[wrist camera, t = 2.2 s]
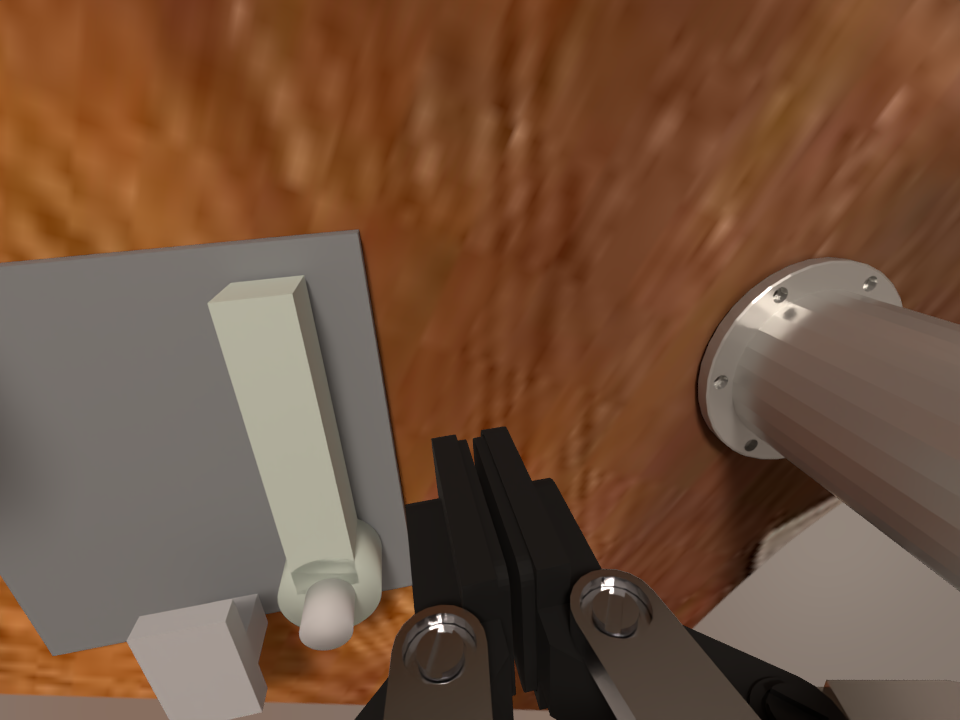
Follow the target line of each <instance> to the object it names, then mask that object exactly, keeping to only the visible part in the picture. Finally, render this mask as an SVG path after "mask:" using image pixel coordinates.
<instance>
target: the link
mask: <svg viewBox="0 0 960 720" xmlns="http://www.w3.org/2000/svg"><path fill="white" fill-rule="evenodd" d="M207 304H208V307H209V311H210V314H211V317H212V320H213V323H214V327H215V330H216V333H217V336H218V340H219V343H220V346H221V349H222V353H223V356H224V359H225V362H226V365H227V369H228V372H229V375H230V378H231V382H232V385H233V388H234V391H235V395H236V398H237V401H238V404H239V407H240V411H241V414H242V417H243V420H244V424H245V427H246V430H247V433H248V437H249V440H250V443H251V446H252V450H253V453H254V456H255V459H256V462H257V466H258V469H259V472H260V475H261V479H262V482H263V485H264V488H265V492H266V495H267V498H268V501H269V504H270V508H271V511H272V514H273V517H274V521H275V524H276V527H277V530H278V534H279V537H280V540H281V543H282V546H283V550H284V553H285V556H286V561H285V566H284V570H283V574H282V578H281V582H280V587H279V591H278V605H279V608H280V610H281V612H282V613H283V615H284V616H285V617H286V618H287V619H288V620H289V621H290V622H292V623H293V624H295V625H297V626H299V627H300V631H299V637H300V640H301V641H302V642H303V644H305V645H306V646H308V647H309V648H312V649H316V650H331V649H335V648H338V647H340V646H342V645H344V644H345V643H346V642H347V641H348V640H349V639H350V638H351V636H352V634H353V626H354V625H357V624H359V623H360V622H362V621H364V620H365V619H366V618H368V617H369V616H370V615H371V614H372V613H373V612H374V611H375V609H376V608H377V606H378V604H379V602H380V599H381V593H382V544H381V540H380V537H379V535H378V534H377V532H376V531H375V530H374V529H373V528H372V527H371V526H370V525H369V524H367V523H365V522H364V521H362V520H359V519H357V515H356V510H355V506H354V501H353V497H352V492H351V487H350V483H349V478H348V474H347V469H346V465H345V460H344V455H343V451H342V446H341V442H340V437H339V432H338V428H337V423H336V419H335V414H334V410H333V405H332V400H331V396H330V391H329V387H328V382H327V378H326V373H325V368H324V364H323V359H322V355H321V350H320V345H319V341H318V336H317V332H316V327H315V323H314V318H313V313H312V309H311V304H310V300H309V295H308V291H307V286H306V281H305V277H304V275H301V276H291V277H282V278H272V279H263V280H253V281H244V282H234V283H230V284H229V285H228V286H226V287H225V288H224V289H223V290H222V291H221V292H220V293H218V294H217V295H216V296H215V297H214V298H213V299H212V300H210V301H209V302H208V303H207Z"/></svg>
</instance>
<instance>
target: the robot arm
mask: <svg viewBox="0 0 960 720" xmlns="http://www.w3.org/2000/svg"><path fill="white" fill-rule="evenodd" d="M698 401H699V405H700V409H701V413H702V416H703V418H704V420H705V422H706V424H707V426H708V428H709V429H710V430H711V431H712V432H713V433H714V434H715V435H716V437H717V438H718V439H719V440H721V441H722V442H723V443H724V444H726V445H727V446H728V447H730V448H731V449H732V450H733V451H735V452H737V453H739V454H741V455H744V456H747V457H752V458H757V459H781V458H786V459H787V460H789V461H790V462H791V463H793V464H794V465H795V466H797V467H798V468H799V469H801V470H802V471H803V472H804V473H806V474H807V475H808V476H810V477H811V478H812V479H814V480H815V481H816V482H817V483H819V484H820V485H821V486H823V487H824V488H825V489H827V490H828V491H829V492H831V493H832V494H833V495H834V496H836V497H837V498H838V499H840V500H841V501H842V502H844V503H845V504H846V505H848V506H849V507H850V508H852V509H853V510H854V511H855V512H857V513H858V514H859V515H861V516H862V517H863V518H865V519H866V520H867V521H868V522H870V523H871V524H873V525H874V526H875V527H876V528H878V529H879V530H880V531H881V532H883V533H884V534H885V535H887V536H888V537H889V538H891V539H892V540H893V541H894V542H896V543H897V544H898V545H900V546H901V547H902V548H904V549H905V550H906V551H907V552H909V553H910V554H911V555H913V556H914V557H915V558H917V559H918V560H919V561H921V562H922V563H923V564H924V565H926V566H927V567H928V568H930V569H931V570H933V571H934V572H935V573H936V574H937V575H939V576H940V577H942V578H943V579H944V580H945V581H947V582H948V583H949V584H951V585H952V586H953V587H955V588H956V589H957V590H958V591H960V325H959V324H955V323H952V322H949V321H945V320H942V319H939V318H935V317H932V316H929V315H926V314H922V313H919V312H916V311H912V310H909V309H906V308H903V307H902V303H901V298H900V296H899V294H898V292H897V290H896V289H895V287H894V285H893V283H892V282H891V281H890V280H889V279H888V278H887V277H886V276H885V275H884V274H883V273H882V272H880V271H878V270H877V269H875V268H873V267H871V266H869V265H867V264H864V263H860V262H856V261H852V260H848V259H842V258H832V257H825V258H816V259H809V260H806V261H802V262H799V263H796V264H793V265H790V266H788V267H786V268H784V269H782V270H780V271H778V272H776V273H774V274H772V275H770V276H768V277H767V278H766V279H764V280H763V281H762V282H760V283H759V284H757V285H756V286H755V287H753V288H752V289H751V290H749V291H748V292H747V293H746V294H745V295H744V296H743V297H742V298H741V299H740V300H739V301H738V302H737V303H736V304H735V305H734V306H733V307H732V309H731V310H730V311H729V313H728V314H727V315H726V316H725V318H724V319H723V320H722V322H721V323H720V324H719V326H718V328H717V330H716V331H715V333H714V335H713V337H712V339H711V340H710V342H709V344H708V347H707V349H706V352H705V355H704V358H703V360H702V363H701V368H700V374H699V379H698ZM431 440H432V449H433V457H434V465H435V473H436V481H437V489H438V496H439V498H438V499H433V500H428V501H422V502H417V503H411V504H406V505H405V508H406V520H407V531H408V543H409V554H410V565H411V576H412V587H413V599H414V610H415V614H414V615H413V616H412V617H411V618H410V619H409V620H408V621H407V622H406V623H404V624H403V626H402V628H401V629H400V631H399V632H398V634H397V635H396V637H395V641H394V644H393V648H392V653H391V661H390V669H389V677H388V678H387V680H386V681H385V682H384V683H383V685H382V686H381V687H380V688H379V690H378V691H377V692H376V693H375V695H374V696H373V697H372V698H371V700H370V701H369V702H368V703H367V705H366V706H365V707H364V708H363V710H362V711H361V712H360V713H359V715H358V716H357V717H356V719H355V720H514V719H513V702H512V696H513V695H516V687H515V669H514V660H515V663H516V667H517V670H518V674H519V678H520V681H521V685H522V688H523V691H524V692H529V691H533V690H534V692H535V696H536V699H537V702H538V706H539V709H540V710H542V709H546V708H548V710H549V713H550V716H551V717H553V718H555V719H556V720H960V682H955V681H949V680H826V683H825V685H824V687H815V686H814V685H812V684H810V683H809V682H807V681H805V680H803V679H802V678H800V677H798V676H796V675H794V674H791V673H789V672H787V671H785V670H783V669H780V668H778V667H776V666H773V665H771V664H769V663H767V662H764V661H762V660H760V659H758V658H756V657H753V656H751V655H749V654H747V653H744V652H742V651H740V650H738V649H735V648H733V647H731V646H729V645H726V644H724V643H722V642H720V641H717V640H715V639H713V638H711V637H708V636H706V635H704V634H702V633H699V632H697V631H695V630H693V629H690V628H688V627H686V626H684V625H682V624H681V623H680V622H679V621H678V619H677V618H676V617H675V616H674V615H673V613H672V612H671V611H670V610H669V609H668V607H667V606H666V605H665V604H664V603H663V601H662V600H661V599H660V598H659V597H658V595H657V594H656V593H655V592H654V591H653V590H652V589H651V588H650V587H649V586H648V585H647V584H646V583H645V582H644V581H643V580H641V579H639V578H637V577H636V576H634V575H632V574H630V573H627V572H623V571H620V570H614V569H601V567H600V565H599V563H598V561H597V560H596V558H595V556H594V554H593V552H592V550H591V548H590V547H589V545H588V543H587V541H586V539H585V537H584V536H583V534H582V532H581V530H580V528H579V526H578V524H577V523H576V521H575V519H574V517H573V515H572V513H571V512H570V510H569V508H568V506H567V504H566V502H565V500H564V499H563V497H562V495H561V493H560V491H559V489H558V488H557V486H556V484H555V482H554V481H553V479H551V478H546V479H541V480H535V481H532V480H531V478H530V476H529V474H528V472H527V470H526V468H525V466H524V463H523V461H522V459H521V457H520V455H519V453H518V451H517V449H516V447H515V445H514V442H513V440H512V438H511V436H510V434H509V432H508V430H507V428H506V427H505V426H504V427H498V428H492V429H486V430H481V437H477V438H473V449H474V461H475V465H474V462H473V459H472V456H471V453H470V450H469V447H468V443H467V441H466V439H465V440H459V441H458V440H457V437H456V435H450V436H444V437H438V438H432V439H431Z"/></svg>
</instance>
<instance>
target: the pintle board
mask: <svg viewBox="0 0 960 720" xmlns="http://www.w3.org/2000/svg"><path fill="white" fill-rule="evenodd" d="M301 275H304V277H305V281H306V286H307V291H308V295H309V300H310V304H311V309H312V313H313V318H314V323H315V327H316V332H317V336H318V341H319V345H320V350H321V355H322V359H323V364H324V368H325V373H326V378H327V382H328V387H329V391H330V396H331V400H332V405H333V410H334V414H335V419H336V423H337V428H338V432H339V437H340V442H341V446H342V451H343V455H344V460H345V465H346V469H347V474H348V478H349V483H350V487H351V492H352V497H353V501H354V506H355V510H356V515H357V519H359V520H362V521H364V522H365V523H367V524H369V525H370V526H371V527H372V528H373V529H374V530H375V531H376V532H377V534H378V535H379V537H380V540H381V544H382V591H386V590H391V589H396V588H401V587H406V586H411V585H412V576H411V565H410V554H409V543H408V531H407V520H406V513H405V507H404V501H403V495H402V489H401V483H400V477H399V471H398V465H397V459H396V452H395V446H394V440H393V434H392V428H391V422H390V416H389V410H388V404H387V398H386V392H385V386H384V380H383V374H382V368H381V361H380V355H379V349H378V343H377V337H376V331H375V325H374V319H373V313H372V307H371V301H370V295H369V289H368V283H367V276H366V270H365V264H364V258H363V252H362V246H361V240H360V234H359V230H348V231H337V232H327V233H316V234H305V235H295V236H284V237H273V238H263V239H252V240H241V241H231V242H220V243H209V244H199V245H188V246H177V247H167V248H156V249H145V250H135V251H124V252H113V253H103V254H92V255H81V256H71V257H60V258H49V259H39V260H28V261H18V262H7V263H0V575H1V577H2V578H3V580H4V581H5V583H6V584H7V586H8V587H9V589H10V591H11V592H12V594H13V595H14V597H15V598H16V600H17V601H18V603H19V604H20V606H21V608H22V609H23V611H24V612H25V614H26V615H27V617H28V618H29V620H30V621H31V623H32V624H33V626H34V628H35V629H36V631H37V632H38V634H39V635H40V637H41V638H42V640H43V641H44V643H45V645H46V646H47V648H48V649H49V651H50V652H51V654H52V655H53V656H56V655H61V654H66V653H71V652H76V651H81V650H86V649H91V648H96V647H102V646H107V645H112V644H117V643H122V642H127V643H128V645H129V646H130V648H131V650H132V652H133V654H134V656H135V658H136V659H137V661H138V663H139V665H140V667H141V669H142V670H143V672H144V674H145V676H146V678H147V680H148V681H149V683H150V685H151V687H152V689H153V691H154V693H155V694H156V696H157V698H158V700H159V702H160V704H161V705H162V707H163V709H164V711H165V713H166V715H167V716H168V718H169V720H229V719H234V718H238V717H242V716H247V715H252V714H256V713H260V712H262V711H263V706H264V702H265V697H266V692H267V685H266V683H265V680H264V677H263V675H262V672H261V670H260V667H259V665H258V662H259V658H260V653H261V649H262V645H263V641H264V637H265V633H266V629H267V625H268V621H267V618H266V615H265V614H269V613H274V612H279V611H281V610H280V608H279V605H278V591H279V587H280V582H281V578H282V574H283V570H284V566H285V561H286V556H285V553H284V550H283V546H282V543H281V540H280V537H279V534H278V530H277V527H276V524H275V521H274V517H273V514H272V511H271V508H270V504H269V501H268V498H267V495H266V492H265V488H264V485H263V482H262V479H261V475H260V472H259V469H258V466H257V462H256V459H255V456H254V453H253V450H252V446H251V443H250V440H249V437H248V433H247V430H246V427H245V424H244V420H243V417H242V414H241V411H240V407H239V404H238V401H237V398H236V395H235V391H234V388H233V385H232V382H231V378H230V375H229V372H228V369H227V365H226V362H225V359H224V356H223V353H222V349H221V346H220V343H219V340H218V336H217V333H216V330H215V327H214V323H213V320H212V317H211V314H210V311H209V307H208V304H207V303H208V302H209V301H210V300H212V299H213V298H214V297H215V296H216V295H217V294H218V293H220V292H221V291H222V290H223V289H224V288H225V287H226V286H228V285H229V284H230V283H234V282H244V281H253V280H263V279H272V278H282V277H291V276H301Z"/></svg>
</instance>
